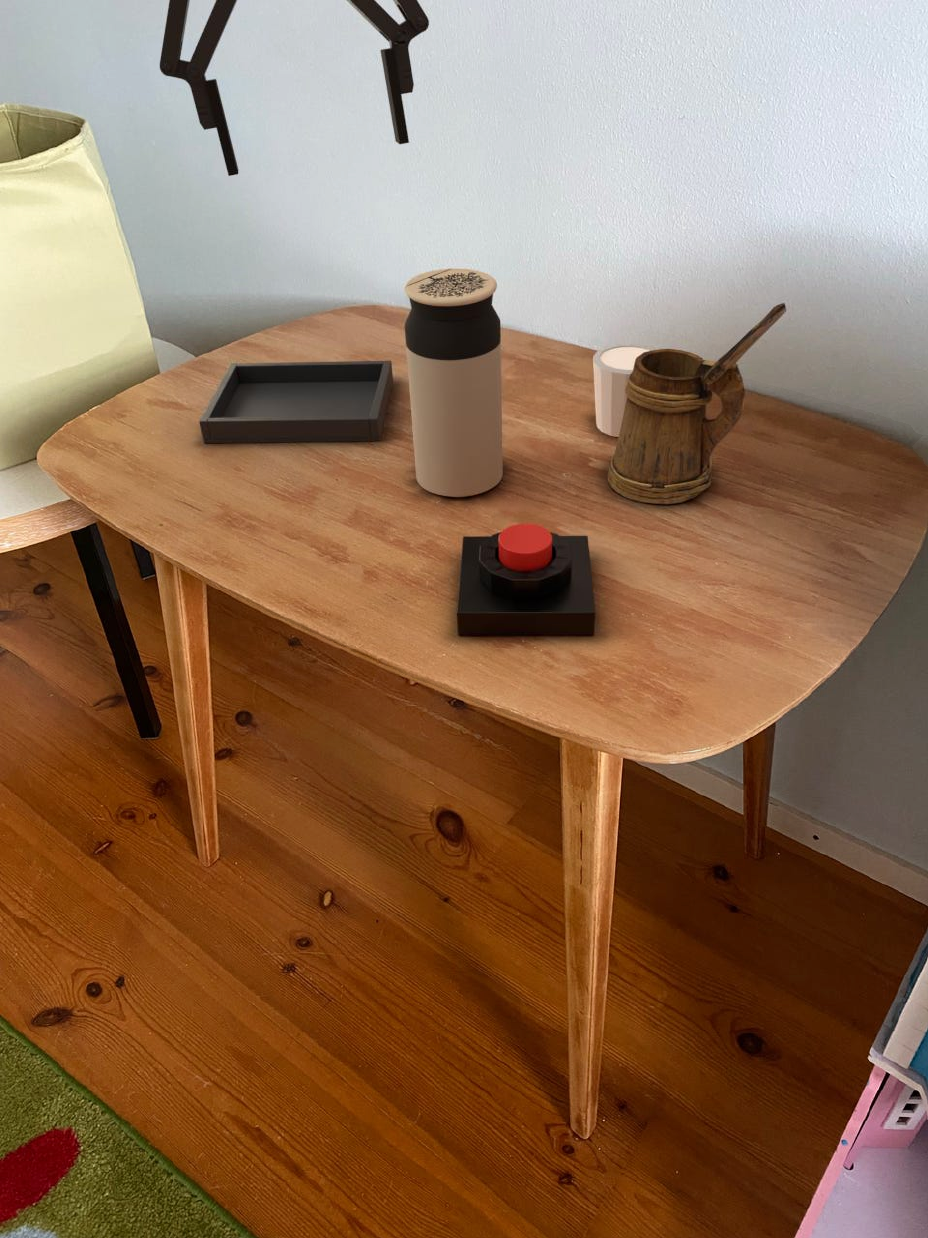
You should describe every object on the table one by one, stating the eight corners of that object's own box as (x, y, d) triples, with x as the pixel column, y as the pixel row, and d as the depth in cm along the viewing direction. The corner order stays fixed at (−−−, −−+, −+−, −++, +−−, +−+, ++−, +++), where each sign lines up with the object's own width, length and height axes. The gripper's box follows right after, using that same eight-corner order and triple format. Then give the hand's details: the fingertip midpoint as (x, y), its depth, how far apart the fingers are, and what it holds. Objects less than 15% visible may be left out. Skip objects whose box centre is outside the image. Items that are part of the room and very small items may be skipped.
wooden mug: (730, 532, 82) (763, 323, 71) (589, 486, 89) (599, 288, 77) (773, 486, 88) (809, 285, 76) (637, 446, 94) (653, 255, 83)
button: (498, 572, 73) (498, 553, 72) (499, 542, 76) (498, 523, 75) (552, 572, 72) (553, 552, 71) (551, 541, 76) (551, 522, 75)
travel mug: (520, 479, 90) (519, 284, 79) (450, 510, 86) (440, 309, 75) (467, 447, 95) (460, 259, 84) (399, 475, 91) (382, 282, 80)
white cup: (610, 402, 101) (614, 337, 97) (671, 418, 98) (678, 351, 94) (577, 429, 97) (579, 362, 93) (639, 447, 94) (645, 378, 90)
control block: (458, 636, 73) (455, 593, 70) (463, 558, 81) (461, 517, 78) (593, 636, 72) (596, 592, 70) (586, 557, 80) (588, 516, 78)
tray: (203, 443, 98) (198, 421, 96) (234, 383, 109) (230, 363, 107) (379, 441, 97) (377, 418, 95) (393, 381, 108) (391, 360, 106)
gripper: (419, -199, 71) (462, 125, 82) (73, -144, 69) (165, 180, 80) (436, -222, 65) (480, 132, 76) (55, -163, 63) (158, 192, 74)
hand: (318, 157), depth 78 cm, fingers open, 13 cm apart
